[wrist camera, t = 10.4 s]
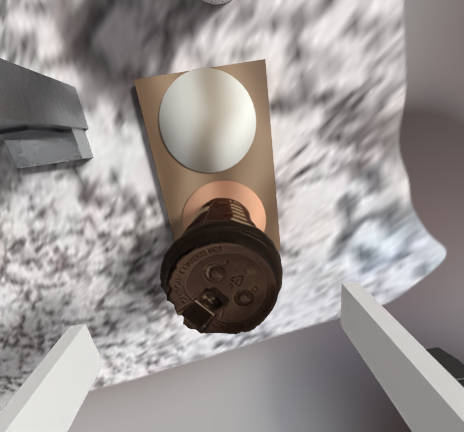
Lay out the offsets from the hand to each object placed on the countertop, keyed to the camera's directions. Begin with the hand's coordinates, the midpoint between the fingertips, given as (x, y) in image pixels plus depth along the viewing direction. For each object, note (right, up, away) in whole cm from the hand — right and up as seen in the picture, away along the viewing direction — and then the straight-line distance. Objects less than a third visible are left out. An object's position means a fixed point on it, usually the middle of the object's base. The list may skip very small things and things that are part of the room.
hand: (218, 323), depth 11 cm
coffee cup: (0, +5, +15) cm, 16 cm away
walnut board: (-1, +10, +14) cm, 18 cm away
